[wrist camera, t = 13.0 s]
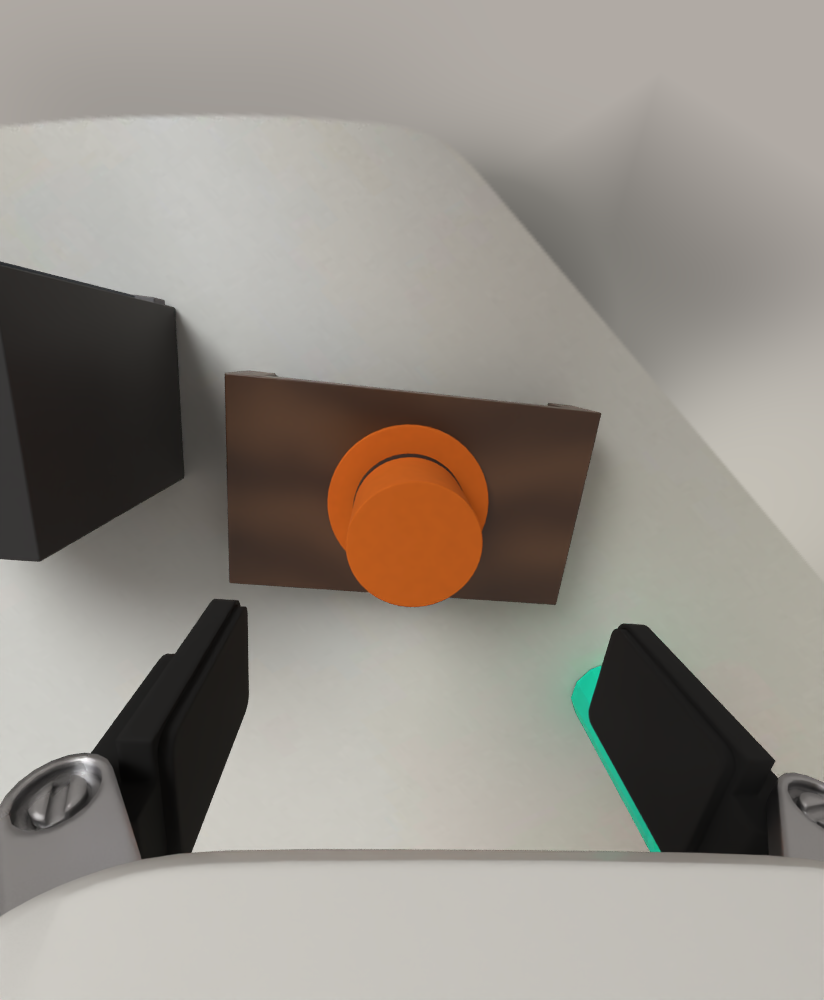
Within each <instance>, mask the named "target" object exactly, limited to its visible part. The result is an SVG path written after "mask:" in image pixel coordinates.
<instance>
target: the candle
mask: <svg viewBox="0 0 824 1000" xmlns="http://www.w3.org/2000/svg"><path fill="white" fill-rule="evenodd" d="M601 667H602V666H599V667H596V668H593V669H591V670H589V671H588V672H587V673H586V674H585V675H584V676H583V677H582V678H581V679H580V680H578V681H577V683H576V685H575V688H574V691H573V694H572V697H571V699H572V703H573V706H574V709H575V712H576V714H577V716H578V718H579V720H580V722H581V724H582V726H583V727H584V729H585V731H586V733H587V735H588V737H589V739H590V740H591V742H592V744H593V746H594V748H595V750H596V752H597V754H598V755H599V757H600V759H601V761H602V763H603V765H604V767H605V768H606V770H607V772H608V774H609V776H610V778H611V780H612V781H613V783H614V785H615V787H616V789H617V791H618V793H619V795H620V796H621V798H622V800H623V802H624V804H625V806H626V808H627V809H628V811H629V813H630V815H631V817H632V819H633V821H634V823H635V824H636V826H637V828H638V830H639V832H640V834H641V836H642V837H643V839H644V841H645V843H646V845H647V847H648V849H649V851H650V852H661V851H660V849H659V847H658V846H657V844H656V842H655V840H654V838H653V836H652V835H651V833H650V831H649V829H648V827H647V826H646V824H645V822H644V820H643V818H642V816H641V815H640V813H639V811H638V809H637V807H636V806H635V804H634V802H633V800H632V798H631V796H630V795H629V793H628V791H627V789H626V787H625V786H624V784H623V782H622V780H621V778H620V776H619V775H618V773H617V771H616V769H615V767H614V766H613V764H612V762H611V760H610V758H609V756H608V755H607V753H606V751H605V749H604V747H603V746H602V744H601V742H600V740H599V738H598V737H597V735H596V733H595V731H594V729H593V727H592V726H591V723H590V720H589V715H588V714H589V706H590V703H591V700H592V697H593V693H594V690H595V687H596V683H597V680H598V677H599V674H600V670H601Z"/></svg>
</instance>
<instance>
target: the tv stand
mask: <svg viewBox="0 0 824 1000" xmlns="http://www.w3.org/2000/svg"><path fill="white" fill-rule="evenodd" d="M225 409H226V452H227V496H228V540H229V582H230V583H238V584H253V585H268V586H282V587H297V588H312V589H327V590H342V591H357V592H368V591H367V590H366V589H365V588H364V587H363V586H362V585H361V584H360V583H359V582H358V580H357V579H356V577H355V576H354V574H353V573H352V570H351V568H350V566H349V563H348V559H347V554H346V551H345V550H344V549H343V547H342V546H341V545H340V543H339V541H338V540H337V538H336V536H335V534H334V532H333V530H332V527H331V524H330V520H329V515H328V501H327V499H328V491H329V486H330V483H331V479H332V477H333V474H334V472H335V469H336V467H337V466H338V464H339V462H340V461H341V459H342V458H343V457H344V455H345V454H346V453H347V452H348V450H349V449H351V448H352V447H353V446H354V445H355V444H356V443H357V442H358V441H360V440H361V439H363V438H364V437H366V436H367V435H369V434H371V433H373V432H375V431H378V430H380V429H383V428H387V427H391V426H395V425H405V424H410V425H422V426H428V427H431V428H434V429H438V430H440V431H442V432H444V433H446V434H448V435H450V436H452V437H453V438H455V439H456V440H458V441H459V442H460V443H461V444H462V445H464V446H465V447H466V448H467V450H468V451H469V452H470V453H471V454H472V455H473V456H474V458H475V459H476V461H477V462H478V464H479V466H480V468H481V470H482V472H483V474H484V477H485V480H486V483H487V489H488V501H489V504H488V513H487V517H486V522H485V525H484V527H483V530H482V539H483V546H482V554H481V558H480V561H479V564H478V566H477V568H476V570H475V572H474V574H473V575H472V577H471V578H470V580H469V581H468V582H467V583H466V584H465V585H464V586H463V587H462V588H461V589H460V590H459V591H458V592H456V593H455V594H453V595H452V596H450V597H449V598H461V599H476V600H491V601H506V602H521V603H536V604H551V605H556V602H557V598H558V593H559V589H560V585H561V581H562V577H563V572H564V568H565V564H566V560H567V556H568V551H569V547H570V543H571V539H572V535H573V530H574V526H575V522H576V518H577V514H578V509H579V505H580V501H581V497H582V492H583V488H584V484H585V480H586V476H587V471H588V467H589V463H590V459H591V455H592V450H593V446H594V442H595V438H596V434H597V429H598V425H599V421H600V417H601V413H599V412H595V411H591V410H587V409H583V408H579V407H575V406H571V405H561V404H552V403H548V406H544V405H535V404H526V403H516V402H507V401H498V400H488V399H479V398H470V397H461V396H451V395H442V394H433V393H423V392H414V391H405V390H395V389H386V388H377V387H368V386H358V385H349V384H340V383H330V382H321V381H312V380H303V379H293V378H284V377H276V374H275V373H266V372H256V371H239V372H228V373H225Z"/></svg>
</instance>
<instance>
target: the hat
mask: <svg viewBox="0 0 824 1000" xmlns="http://www.w3.org/2000/svg"><path fill="white" fill-rule="evenodd" d="M327 501H328V515H329V520H330V524H331V527H332V530H333V532H334V534H335V536H336V538H337V540H338V541H339V543H340V545H341V546H342V547H343V549H344V550H345V551H346V554H347V559H348V563H349V566H350V568H351V570H352V573H353V574H354V576H355V577H356V579H357V580H358V582H359V583H360V584H361V585H362V586H363V587H364V588H365V589H366V590H367V591H368V592H369V593H371V594H372V595H374V596H375V597H377V598H379V599H381V600H383V601H385V602H388V603H390V604H394V605H398V606H405V607H420V606H427V605H431V604H435V603H438V602H440V601H443V600H445V599H447V598H449V597H450V596H452V595H453V594H455V593H456V592H458V591H459V590H460V589H461V588H462V587H463V586H464V585H465V584H466V583H467V582H468V581H469V580H470V578H471V577H472V575H473V574H474V572H475V570H476V568H477V566H478V564H479V561H480V558H481V554H482V546H483V539H482V530H483V527H484V525H485V522H486V517H487V513H488V504H489V501H488V489H487V483H486V480H485V477H484V474H483V472H482V470H481V468H480V466H479V464H478V462H477V461H476V459H475V458H474V456H473V455H472V454H471V453H470V452H469V451H468V450H467V448H466V447H465V446H464V445H462V444H461V443H460V442H459V441H458V440H456V439H455V438H453V437H452V436H450V435H448V434H446V433H444V432H442V431H440V430H438V429H434V428H431V427H428V426H422V425H410V424H405V425H395V426H391V427H387V428H383V429H380V430H378V431H375V432H373V433H371V434H369V435H367V436H366V437H364V438H363V439H361V440H360V441H358V442H357V443H356V444H355V445H354V446H353V447H352V448H351V449H349V450H348V452H347V453H346V454H345V455H344V457H343V458H342V459H341V461H340V462H339V464H338V466H337V467H336V469H335V472H334V474H333V477H332V479H331V483H330V486H329V491H328V499H327Z"/></svg>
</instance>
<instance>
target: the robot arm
mask: <svg viewBox="0 0 824 1000" xmlns="http://www.w3.org/2000/svg"><path fill="white" fill-rule="evenodd" d="M248 698H249V675H248V613H247V608H246V607H240V603H239V601H238V600H224V599H213V600H212V601H211V603H210V604H209V605H208V607H207V608H206V610H205V611H204V613H203V614H202V616H201V617H200V618H199V620H198V621H197V623H196V624H195V626H194V627H193V629H192V630H191V631H190V633H189V634H188V636H187V637H186V639H185V640H184V642H183V643H182V644H181V646H180V647H179V649H178V650H177V652H176V653H175V654H165V655H163V656H162V657H161V658H160V659H159V661H158V662H157V663H156V665H155V666H154V667H153V669H152V670H151V671H150V673H149V674H148V676H147V677H146V678H145V680H144V681H143V682H142V684H141V685H140V687H139V688H138V689H137V691H136V692H135V693H134V695H133V696H132V698H131V699H130V700H129V702H128V703H127V704H126V706H125V707H124V709H123V710H122V711H121V713H120V714H119V715H118V717H117V718H116V719H115V721H114V722H113V724H112V725H111V726H110V728H109V729H108V730H107V732H106V733H105V735H104V736H103V737H102V739H101V740H100V741H99V743H98V744H97V746H96V747H95V748H94V750H93V751H92V752H91V753H80V754H73V755H68V756H65V757H62V758H59V759H56V760H53V761H51V762H49V763H47V764H45V765H43V766H41V767H39V768H37V769H36V770H34V771H33V772H31V773H30V774H29V775H27V776H26V777H25V778H23V779H22V780H21V781H19V782H18V783H17V784H16V785H15V786H14V787H13V788H12V789H11V791H10V792H9V793H8V794H7V795H6V796H5V798H4V799H3V801H2V803H1V804H0V1000H824V783H823V782H821V781H819V780H817V779H814V778H812V777H809V776H807V775H802V774H798V773H784V774H783V775H781V776H780V777H779V778H777V776H776V775H775V774H774V773H773V772H772V771H771V768H772V766H773V764H774V762H775V760H774V759H773V758H772V757H771V756H770V755H769V754H768V752H767V751H766V750H765V749H764V748H763V747H762V746H761V745H760V744H759V743H758V742H757V741H756V740H755V739H754V738H753V737H752V736H751V735H750V734H749V732H748V731H747V730H746V729H745V728H744V727H743V726H742V725H741V724H740V723H739V722H738V721H737V720H736V719H735V718H734V717H733V716H732V715H731V714H730V712H729V711H728V710H727V709H726V708H725V707H724V706H723V705H722V704H721V703H720V702H719V701H718V700H717V699H716V698H715V697H714V696H713V695H712V694H711V693H710V691H709V690H708V689H707V688H706V687H705V686H704V685H703V684H702V683H701V682H700V681H699V680H698V679H697V678H696V677H695V676H694V675H693V674H692V673H691V671H690V670H689V669H688V668H687V667H686V666H685V665H684V664H683V663H682V662H681V661H680V660H679V659H678V658H677V657H676V656H675V655H674V654H673V653H672V652H671V650H670V649H669V648H668V647H667V646H666V645H665V644H664V643H663V642H662V641H661V640H660V639H659V638H658V637H657V636H656V635H655V634H654V633H653V632H652V630H651V629H650V628H649V627H647V626H646V625H639V624H621V625H620V626H619V627H618V629H614V631H613V632H612V634H611V638H610V641H609V644H608V647H607V651H606V654H605V657H604V661H603V664H602V667H601V670H600V674H599V677H598V680H597V683H596V687H595V690H594V693H593V697H592V700H591V703H590V706H589V714H588V715H589V720H590V723H591V726H592V727H593V729H594V731H595V733H596V735H597V737H598V738H599V740H600V742H601V744H602V746H603V747H604V749H605V751H606V753H607V755H608V756H609V758H610V760H611V762H612V764H613V766H614V767H615V769H616V771H617V773H618V775H619V776H620V778H621V780H622V782H623V784H624V786H625V787H626V789H627V791H628V793H629V795H630V796H631V798H632V800H633V802H634V804H635V806H636V807H637V809H638V811H639V813H640V815H641V816H642V818H643V820H644V822H645V824H646V826H647V827H648V829H649V831H650V833H651V835H652V836H653V838H654V840H655V842H656V844H657V846H658V847H659V849H660V851H661V852H617V851H539V850H406V849H294V850H231V851H212V852H197V853H191V852H192V850H193V847H194V845H195V842H196V839H197V837H198V834H199V832H200V829H201V826H202V824H203V821H204V819H205V816H206V813H207V811H208V808H209V806H210V803H211V800H212V798H213V795H214V793H215V790H216V787H217V785H218V782H219V780H220V777H221V774H222V772H223V769H224V767H225V764H226V761H227V759H228V756H229V754H230V751H231V748H232V746H233V743H234V741H235V738H236V736H237V733H238V730H239V728H240V725H241V723H242V720H243V717H244V715H245V712H246V709H247V705H248Z"/></svg>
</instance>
